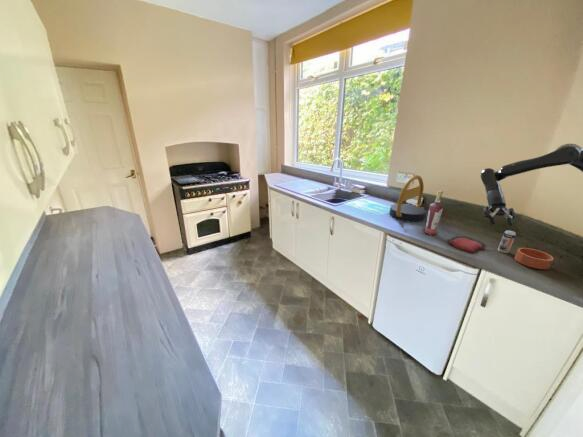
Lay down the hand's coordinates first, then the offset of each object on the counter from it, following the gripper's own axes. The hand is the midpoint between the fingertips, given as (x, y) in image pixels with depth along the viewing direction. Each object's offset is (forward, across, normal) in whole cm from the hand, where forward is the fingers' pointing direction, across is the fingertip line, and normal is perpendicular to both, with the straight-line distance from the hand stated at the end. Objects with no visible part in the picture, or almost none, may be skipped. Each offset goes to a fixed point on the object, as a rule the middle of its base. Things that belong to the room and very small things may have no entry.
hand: (501, 224), depth 130 cm
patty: (+12, -17, +7) cm, 22 cm away
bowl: (+22, +6, -3) cm, 23 cm away
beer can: (+14, 0, +5) cm, 15 cm away
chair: (-20, -37, +39) cm, 57 cm away
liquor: (+2, -31, +17) cm, 35 cm away
